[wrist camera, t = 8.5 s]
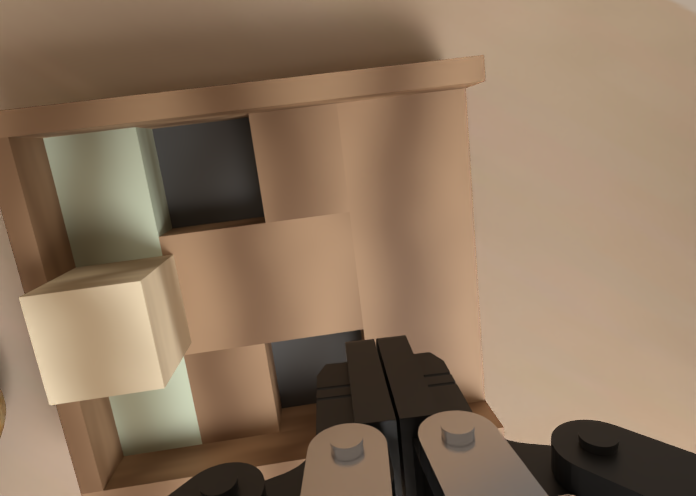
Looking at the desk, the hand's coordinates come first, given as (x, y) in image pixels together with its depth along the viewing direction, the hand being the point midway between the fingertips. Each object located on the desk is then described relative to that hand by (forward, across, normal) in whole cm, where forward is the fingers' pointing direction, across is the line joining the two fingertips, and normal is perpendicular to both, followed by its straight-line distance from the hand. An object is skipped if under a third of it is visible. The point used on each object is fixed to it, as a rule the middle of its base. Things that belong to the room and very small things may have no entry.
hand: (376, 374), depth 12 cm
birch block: (+12, +10, +1) cm, 16 cm away
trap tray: (+14, +4, +1) cm, 15 cm away
